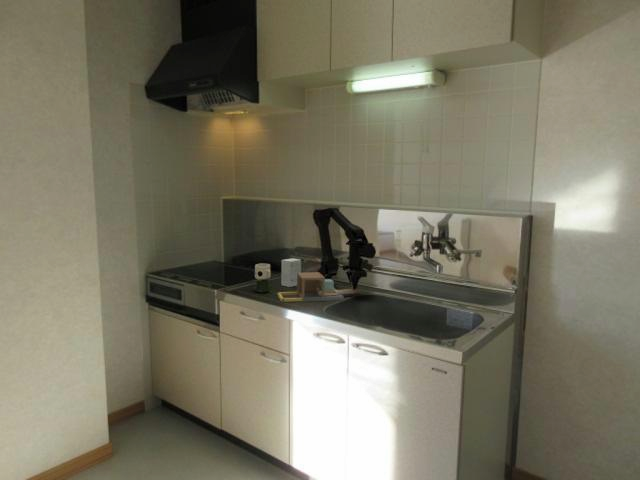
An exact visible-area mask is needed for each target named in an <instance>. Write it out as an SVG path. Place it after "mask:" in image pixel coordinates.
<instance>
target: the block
mask: <svg viewBox="0 0 640 480" xmlns="http://www.w3.org/2000/svg"><path fill="white" fill-rule="evenodd" d="M334 284H335V283H334V280H333V279H332V280H331V279H325V290H324V291H333V287H334ZM319 286H320V290H321V291H322V280H319ZM334 288H335V287H334Z"/></svg>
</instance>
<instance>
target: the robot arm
mask: <svg viewBox="0 0 640 480" xmlns="http://www.w3.org/2000/svg"><path fill="white" fill-rule="evenodd" d="M312 217H313V218H312V219H313V222H314V224H315V226H316V227H317V228H318V235H319V240H320V246H321V253H322V258H321V261H320V267H319V269H317V271H316V272H319V273H320V274H321V275H322V276H324V277H325V279H331V280H332V281H333V277H336V276H337V274H338V272H339V267H340V264H339V258H338V257H335V256H334V253H333V248H332V242H331V234H330V228H329V225H330V222H331V219H332V220H334V222H336V224H337V225H338V226H339V227H340V228H341V230H343V232H344V235H345V237H346V238H347V239H348V241H347V242H345V245H347V246H348V256H347V258H346V259H347V260H348V263H344V264H343V265H342V271H345V274H346V277H347V280H348V282H349V284H350V286H351V283H352V286H353V289H354V290H355V289H356V288H358V284H359V282H360V279H361V278H367V277H368V272H372V270H373V267H374V265H373V264H372V263H370V262H369V260H368V259H373V258H374V257H375V256H376V254H377V253H376V251H377V250H376V247H375V246H374V243H373V242H369V240H368V238H367V236H366V233H365V230H364V229H363V228H362V227H360V226H359V225H356V224H354V223H352V222H351V221H350V220H349V218H347V217H346V216H345V215H344V214H343V213H342V212H341V211H340V210H339V208H338V207H335V206H334V207H328V208H323V209H322V208H317V209H314V211H313V213H312ZM365 258H367V259H365ZM367 270H368V272H367ZM319 287H320V285H319Z"/></svg>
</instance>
